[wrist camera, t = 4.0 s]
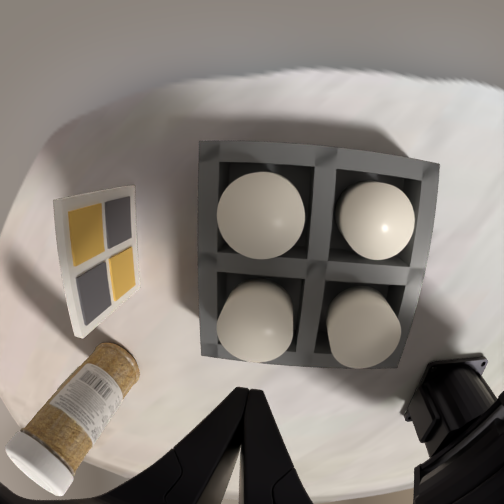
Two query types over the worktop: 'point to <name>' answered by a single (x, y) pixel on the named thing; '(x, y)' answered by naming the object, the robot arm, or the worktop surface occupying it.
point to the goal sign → (97, 253)
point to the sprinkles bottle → (73, 418)
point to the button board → (311, 241)
